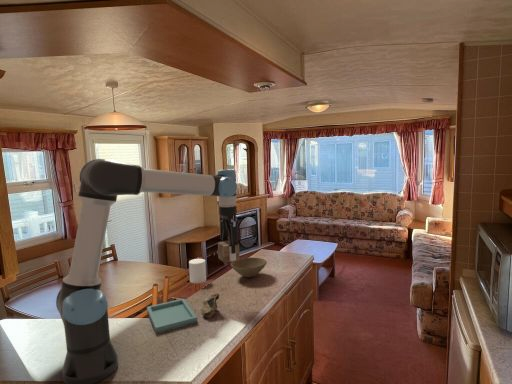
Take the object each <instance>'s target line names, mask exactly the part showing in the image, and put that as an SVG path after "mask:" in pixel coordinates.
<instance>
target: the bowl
mask: <svg viewBox="0 0 512 384" xmlns="http://www.w3.org/2000/svg"><path fill="white" fill-rule="evenodd" d="M267 262H268V261H267V260H266V259H264V258H262V257H242V258H241V257H240V258H239V260H237V261H231V264H230V265H231V267H232V269H233V270H234V271H235V272H236V273H237V274H239V275H240V276H242V277H244V278H253V277H255V276H257V275H258V274H259V273H261V271H262V270H264V268H265V267H266V266H267Z"/></svg>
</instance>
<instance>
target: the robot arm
mask: <svg viewBox="0 0 512 384" xmlns="http://www.w3.org/2000/svg"><path fill="white" fill-rule="evenodd" d="M236 177H237V174H236V170H234V169H231V168H230V169H218V170H217V174H202V173H192V172H191V173H190V172H181V171H172V170H171V171H170V170H163V169H151V168H143V167H142V165H140V164H133V163H128V162H123V161H120V160H115V159H112V158H96V159H92V160H89V161H88V162H86V163H85V164H84V165H83V166H82V168H81V170H80V172H79V183H80V185H79V190H78V196H77V197H78V199H80V201H81V202H82V203H81V208H80V215H79V219H78V224H77V225H78V226H77V229H76V230H77V231H76V234H75V241H74V246H73V252H72V257H71V263H70V268H69V273H68V274H67V275H66V276H64V277H63V279H62V281H61V288H60V289H59V291H58V293H57V294H56V295H57V296H56V300H55V301H56V302H55V304H56V309H57V311H58V313H59V315H60V317H61V321H62V324H63V328H64V333H65V334H64V335H65V345H66V354H65V358H64V362H63V365H62V369H61V370H62V371H61V374H62V375H61V376H62V381H63V383H64V384H96V383H99V382H101V381H103V380H105V379H107V378H108V377H109V376H111V375H112V374H113V373H114V372H115V371H116V370H117V368H118V365H119V358H118V357H119V356H118V353H117V351H116V349H115V347H114V345H113V343H112V341H111V336H110V326H109V325H110V324H109V313H108V307H109V305H108V304H109V303H108V299H107V296H106V294H105V292H104V291H102V290H101V286H102V282H103V281H102V279H101V278H100V276H99V270H100V265H101V259H102V254H103V250H104V244H105V238H106V233H107V228H108V222H109V216H110V210H111V206H112V205H113V204H115V203H116V202H117V199H118V196H125V195H126V196H127V195H128V196H131V195H132V196H139V195H140V194H141V193H152V194H154V193H155V194H174V195H191V196H192V195H194V196H206V197H207V196H210V197H218V206H219V207H218V215H219V216H221V217H219V237H220V238H219V239H220V240H221V242H227V241H230V245H228V246H229V259H230V261H231V262H233V261H235V260H236V245H238V244H239V238H238V221H236V220H235V219H234V216H236V215H237V214H238V211H237V210H238V209H237V206H236V205H237V199H238V197H237V190H238V184H237V178H236Z"/></svg>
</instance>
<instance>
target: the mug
mask: <svg viewBox="0 0 512 384" xmlns="http://www.w3.org/2000/svg"><path fill="white" fill-rule="evenodd" d="M188 268H189V270H188V271H189V282H190V283H191V284H202V283H204V282H206V281H207V267H206V259H205V258H204V259H203V258H194V259H191V260H189V261H188Z"/></svg>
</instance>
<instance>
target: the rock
mask: <svg viewBox="0 0 512 384" xmlns="http://www.w3.org/2000/svg"><path fill="white" fill-rule="evenodd" d="M219 299H220V294H219V293H218V292H217V293H215V294H211V295H210V296H209V297H206V298H204V300H203V301H202V308H201V315H202V316H203V317H204V318H206V319H210V318H212V317H213V315H215V314H216V311H217V310H218V303H217V301H218V300H219Z"/></svg>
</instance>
